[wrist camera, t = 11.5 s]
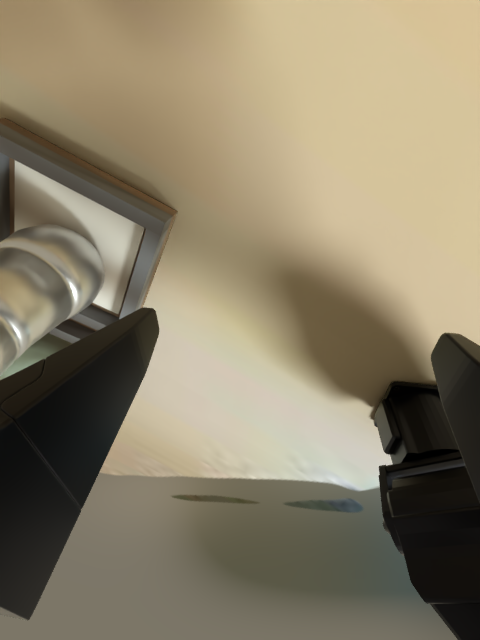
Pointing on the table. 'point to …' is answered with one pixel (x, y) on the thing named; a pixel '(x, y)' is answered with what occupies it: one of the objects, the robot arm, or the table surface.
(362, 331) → the table surface
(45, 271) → the plastic bottle
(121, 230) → the grey flat tray
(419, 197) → the table surface
